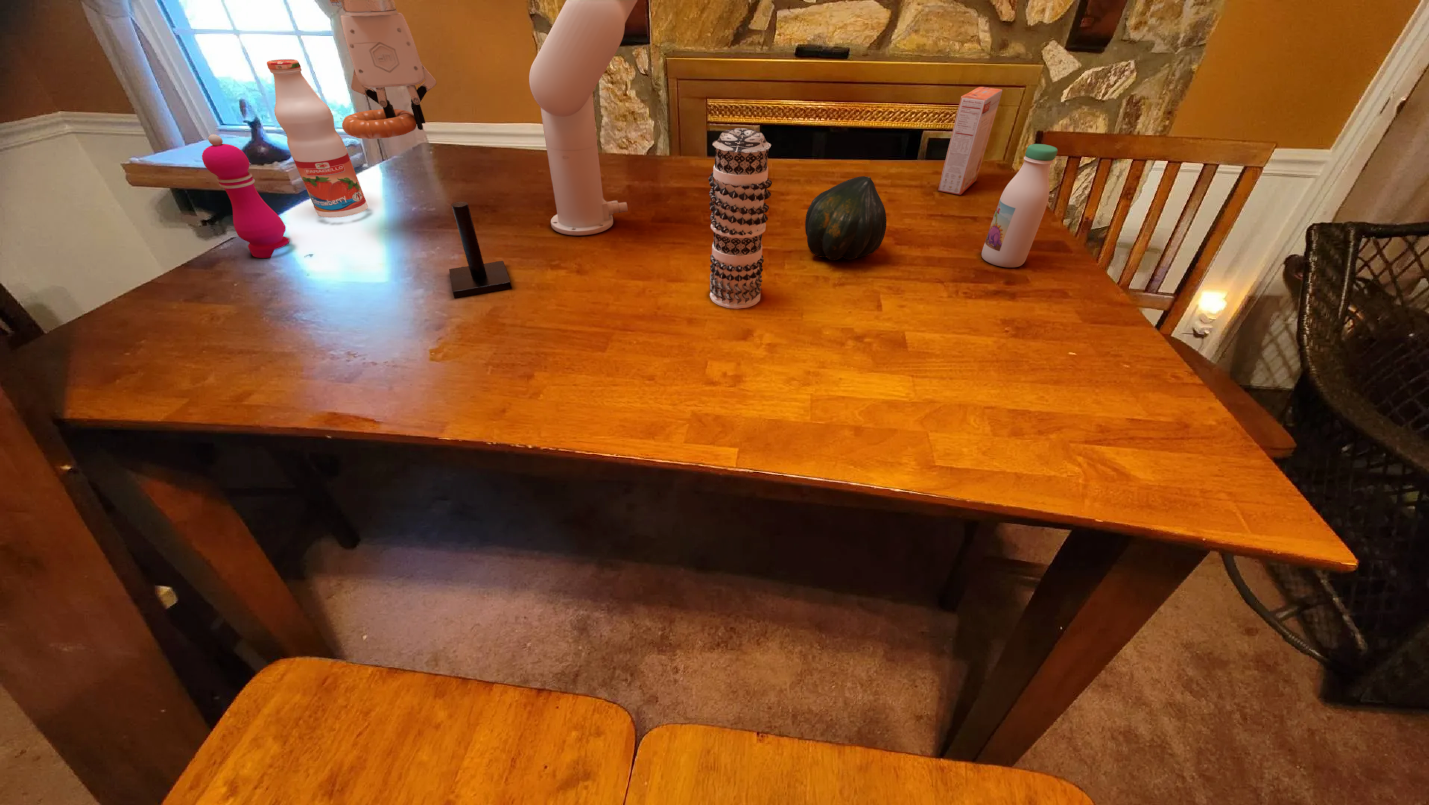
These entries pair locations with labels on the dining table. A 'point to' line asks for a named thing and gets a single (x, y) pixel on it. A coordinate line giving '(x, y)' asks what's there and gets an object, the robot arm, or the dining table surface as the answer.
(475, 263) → the stand
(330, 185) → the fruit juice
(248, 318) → the dining table surface
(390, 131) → the ring
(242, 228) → the pepper mill
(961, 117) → the cracker box
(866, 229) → the squash
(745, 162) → the decorative candle
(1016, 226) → the milk bottle
